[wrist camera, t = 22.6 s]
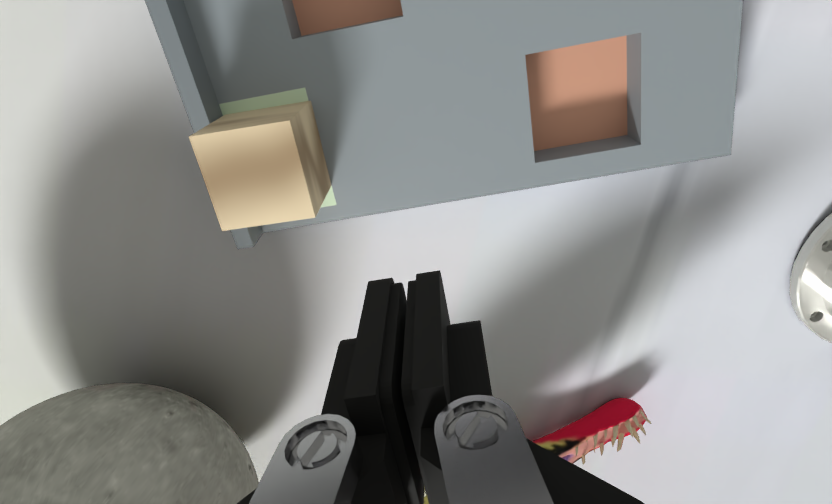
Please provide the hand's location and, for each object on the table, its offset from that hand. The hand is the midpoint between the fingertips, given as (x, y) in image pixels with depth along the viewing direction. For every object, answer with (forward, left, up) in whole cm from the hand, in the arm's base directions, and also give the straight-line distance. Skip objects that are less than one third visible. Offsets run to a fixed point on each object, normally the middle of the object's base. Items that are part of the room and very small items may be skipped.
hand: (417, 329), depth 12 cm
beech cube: (0, +8, -20) cm, 21 cm away
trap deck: (+5, -3, -22) cm, 23 cm away
